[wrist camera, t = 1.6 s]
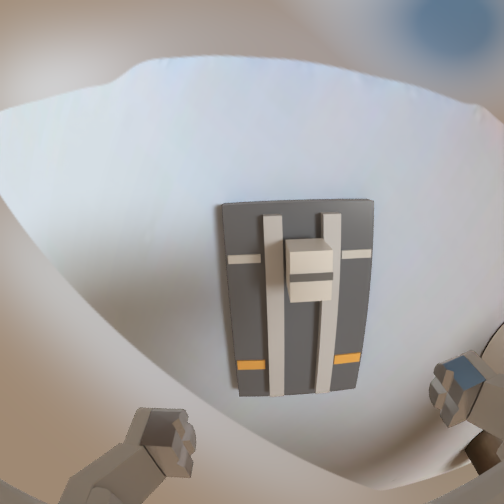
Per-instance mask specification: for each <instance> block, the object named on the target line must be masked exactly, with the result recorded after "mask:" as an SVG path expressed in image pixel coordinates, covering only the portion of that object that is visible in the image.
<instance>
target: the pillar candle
mask: <svg viewBox="0 0 504 504" xmlns="http://www.w3.org/2000/svg"><path fill="white" fill-rule="evenodd" d="M503 441H504V440H502V439H500V438H498V437H496V436H494V435H492V434H490V433H488V432H487V431H485V430H484V431H483V432H481V433H480V434H479V435H478V436H476V437H475V438H474V439H473V440H472V441H471V442H470V444H469V445H468V446H467V448H466V450H465V451H466V453H467V455H468V457H469V459H470V460H471V462H472V464H473V465H474V467H475V469H476V471H477V473H478V474H479V475H481V474H483V473H484V472H486V471H487V470H489V469H491V468H492V467H494V466H495V465H497V464H498V463H500V462H501V460H500V458H499V457H498V455H497V454H496V453H497V450H498V448H499V447H500V445H501V444H502V442H503Z"/></svg>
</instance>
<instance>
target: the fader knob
mask: <svg viewBox="0 0 504 504" xmlns="http://www.w3.org/2000/svg"><path fill="white" fill-rule="evenodd" d="M285 242H286V284H287V289H288V294H289V298H290V303H294V302H311V301H326V300H331V295H332V280H333V272H332V271H333V250H332V248H331V247H330V246H329V245H328V244H327V243H326V242H325V241H324V239H323V238H312V239H288V240H285Z"/></svg>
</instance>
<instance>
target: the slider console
mask: <svg viewBox="0 0 504 504" xmlns="http://www.w3.org/2000/svg"><path fill="white" fill-rule="evenodd" d="M222 213H223V227H224V240H225V253H226V265H227V277H228V289H229V300H230V311H231V322H232V332H233V342H234V352H235V362H236V371H237V380H238V389H239V397H243V396H270V397H276V396H284V395H296V394H309V393H316V394H318V393H328V392H329V391H338V390H346V389H353V388H355V387H356V382H357V377H358V371H359V366H360V360H361V354H362V347H363V341H364V334H365V326H366V318H367V310H368V301H369V291H370V280H371V267H372V250H373V226H374V201H373V200H369V199H312V200H279V201H256V202H237V203H224V204H223V205H222ZM312 238H323V239H324V241H325V242H326V243H327V244H328V245H329V246H330V247H331V248H332V250H333V271H332V272H333V280H332V295H331V300H326V301H311V302H294V303H290V298H289V294H288V289H287V284H286V242H285V240H288V239H312Z"/></svg>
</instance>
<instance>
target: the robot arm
mask: <svg viewBox="0 0 504 504" xmlns="http://www.w3.org/2000/svg"><path fill="white" fill-rule="evenodd" d="M434 375H435V376H436V377H435V378H434V379H433V380H432V382H431V383H430V387H429V397H430V400H431V403H432V404H433V406H434V407H435V408H438V409H440V410H441V411H440V417H441V418H442V420H443V421H444V423H445V424H446V426H447V428H449V427H452V426H454V425H456V424H458V423H461V422H463V421H465V420H467V421H468V422H470V423H472V424H474V425H476V426H477V427H479V428H481V429H483V430H485V431H487V432H488V433H490V434H492V435H494V436H496V437H498V438H500V439H502V440H504V324H503V325H502V326H501V327H500V329H499V330H498V331H497V332H496V334H495V335H494V336H493V338H492V339H491V341H490V342H489V344H488V346H487V347H486V349H485V351H484V353H483V355H482V358H480V357H479V356H478V355H477V354H476V353H475V352H474V351H468V352H466V353H463V354H461V355H459V356H456V357H454V358H451V359H449V360H446V361H443V362H441V363H438V364H437V365H436V367H435V369H434ZM187 421H188V415H187V413H186V410H184V409H161V408H139V409H138V410H137V411H136V413H135V415H134V418H133V421H132V423H131V426H130V428H129V430H128V433H127V435H126V439H125V441H124V443H123V444H122V443H119V444H118V445H116V446H115V447H113V448H112V449H111V450H109V451H108V452H107V453H105V454H104V455H102V456H101V457H99V458H98V459H97V460H95V461H94V462H92V463H91V464H89V465H88V466H87V467H85V468H84V469H82V470H81V471H79V472H78V473H76V474H75V475H73V476H72V477H70V478H69V481H68V483H67V485H66V487H65V489H64V492H63V494H62V496H61V498H60V501H59V503H58V504H142V503H143V501H144V500H145V499H146V498H147V497H148V496H149V495H150V494H151V493H152V492H153V491H154V490H155V489H156V488H157V487H158V486H159V485H160V484H161V483H162V482H163V480H164V479H165V478H166V477H184V478H191V473H192V467H193V460H192V458H191V454H193V453H194V452H195V448H196V435H195V431H194V428H193V426H192V425H191V424H190V423H188V422H187ZM496 454H497V455H498V457H499V458H500V460H501V462H500V463H498V464H497V465H495V466H494V467H492V468H491V469H489V470H487V471H486V472H484V473H483V474H481V475H479V476H478V477H476V478H474V479H473V480H471V481H469V482H468V483H466V484H464V485H462V486H460V487H458V488H457V489H455V490H453V491H451V492H449V493H447V494H445V495H443V496H441V497H439V498H436V499H434V500H432V501H430V502H428V503H425V504H504V441H503V442H502V444H501V445H500V447H499V448H498V450H497V453H496ZM0 504H47V503H45V502H43V501H41V500H39V499H37V498H35V497H33V496H30V495H28V494H27V493H25V492H23V491H21V490H19V489H17V488H15V487H13V486H12V485H10V484H8V483H6V482H5V481H3V480H1V479H0Z"/></svg>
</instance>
